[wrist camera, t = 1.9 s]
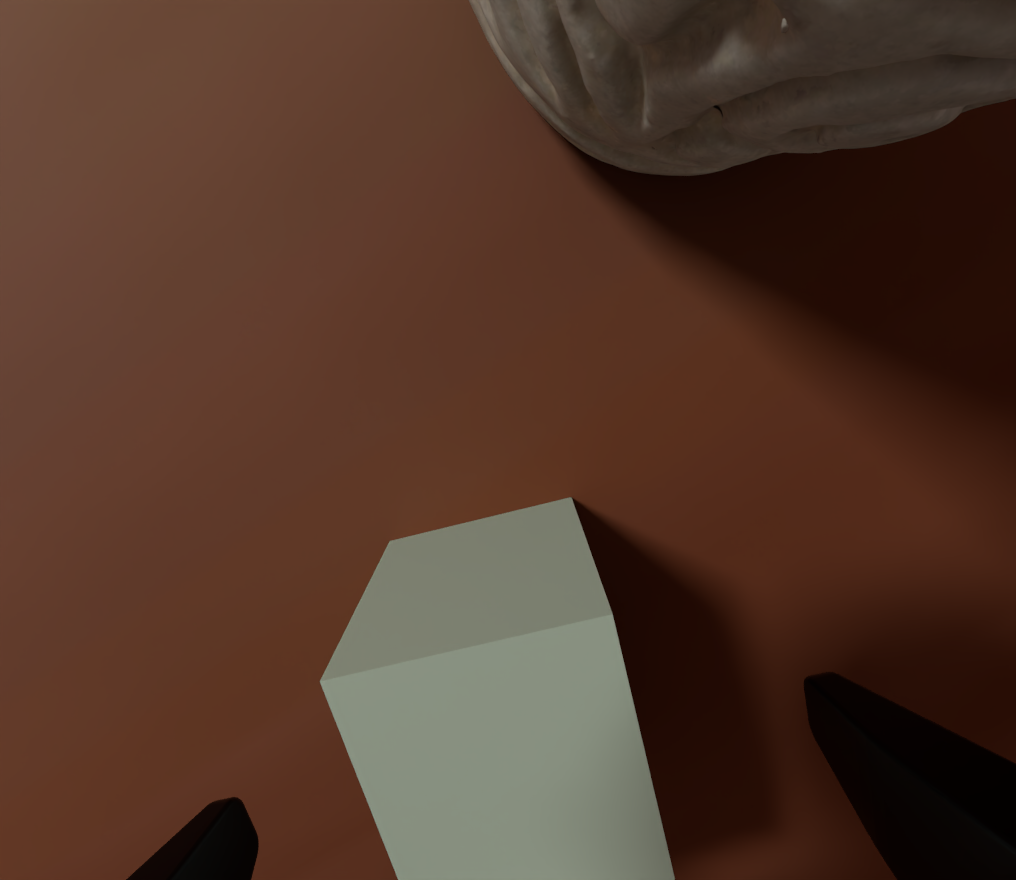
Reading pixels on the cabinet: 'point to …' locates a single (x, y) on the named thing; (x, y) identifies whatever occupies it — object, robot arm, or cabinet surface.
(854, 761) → the robot arm
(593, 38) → the carving
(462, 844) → the sage brick
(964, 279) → the cabinet surface
